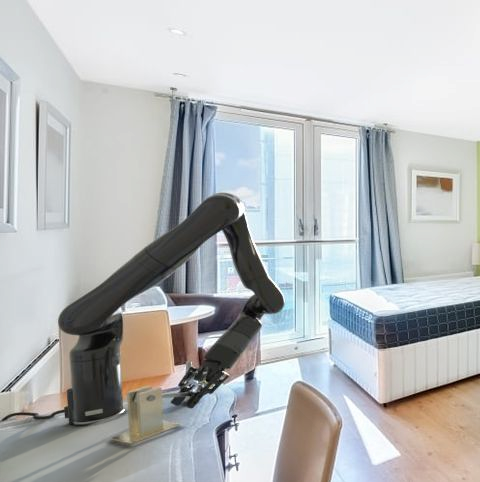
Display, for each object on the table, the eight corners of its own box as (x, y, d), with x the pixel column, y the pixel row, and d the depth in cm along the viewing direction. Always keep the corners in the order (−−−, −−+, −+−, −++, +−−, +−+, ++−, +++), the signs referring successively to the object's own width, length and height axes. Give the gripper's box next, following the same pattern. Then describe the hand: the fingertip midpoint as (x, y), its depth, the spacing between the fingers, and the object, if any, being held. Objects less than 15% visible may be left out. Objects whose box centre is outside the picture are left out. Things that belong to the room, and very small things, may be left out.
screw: (199, 398, 131) (203, 402, 128) (178, 404, 127) (181, 408, 124) (197, 357, 130) (201, 360, 127) (175, 361, 126) (179, 364, 123)
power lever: (185, 397, 118) (188, 388, 118) (197, 399, 116) (199, 390, 117) (130, 401, 107) (133, 391, 107) (142, 403, 105) (145, 393, 106)
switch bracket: (161, 424, 114) (159, 381, 114) (181, 428, 112) (178, 384, 111) (110, 442, 105) (107, 395, 104) (130, 448, 102) (127, 399, 102)
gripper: (201, 340, 125) (151, 396, 114) (234, 344, 121) (186, 403, 110) (222, 353, 131) (176, 408, 120) (255, 357, 126) (210, 415, 115)
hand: (181, 405), depth 115 cm, fingers closed on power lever, 5 cm apart
